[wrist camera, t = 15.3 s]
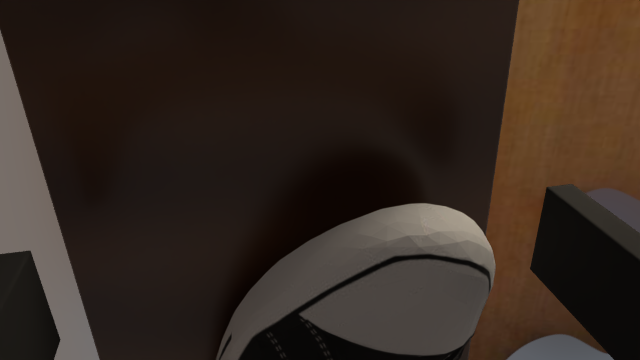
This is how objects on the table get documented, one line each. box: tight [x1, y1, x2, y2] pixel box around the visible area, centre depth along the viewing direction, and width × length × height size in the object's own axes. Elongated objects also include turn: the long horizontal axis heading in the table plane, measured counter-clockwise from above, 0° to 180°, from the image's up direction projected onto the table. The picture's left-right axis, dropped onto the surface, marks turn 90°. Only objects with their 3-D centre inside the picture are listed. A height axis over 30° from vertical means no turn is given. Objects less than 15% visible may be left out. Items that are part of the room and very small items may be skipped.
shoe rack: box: [0, 0, 519, 360], centre depth 37 cm, size 32×14×36 cm, turn 2°
